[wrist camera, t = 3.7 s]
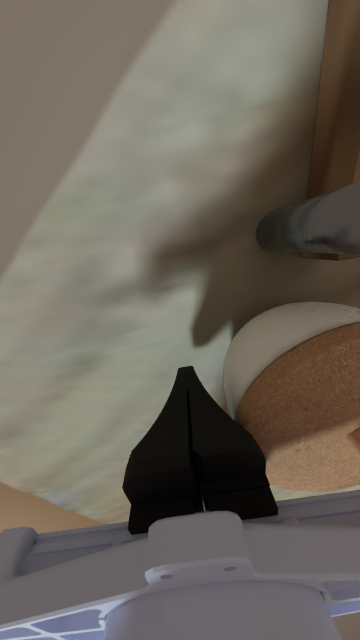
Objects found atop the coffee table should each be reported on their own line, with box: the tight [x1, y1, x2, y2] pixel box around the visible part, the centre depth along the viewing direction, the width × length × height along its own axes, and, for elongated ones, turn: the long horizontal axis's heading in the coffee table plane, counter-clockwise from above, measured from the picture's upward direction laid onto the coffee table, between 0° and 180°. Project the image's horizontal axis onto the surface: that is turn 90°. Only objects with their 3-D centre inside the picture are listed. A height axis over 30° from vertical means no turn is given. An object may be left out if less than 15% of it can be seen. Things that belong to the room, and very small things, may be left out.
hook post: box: [256, 181, 360, 255], centre depth 9 cm, size 2×4×6 cm, turn 99°
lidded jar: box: [223, 301, 360, 491], centre depth 11 cm, size 11×11×9 cm
